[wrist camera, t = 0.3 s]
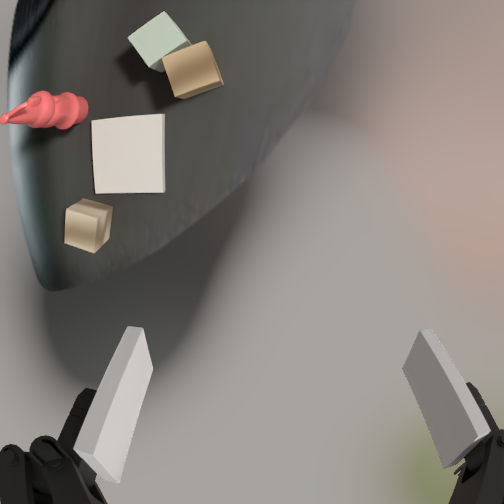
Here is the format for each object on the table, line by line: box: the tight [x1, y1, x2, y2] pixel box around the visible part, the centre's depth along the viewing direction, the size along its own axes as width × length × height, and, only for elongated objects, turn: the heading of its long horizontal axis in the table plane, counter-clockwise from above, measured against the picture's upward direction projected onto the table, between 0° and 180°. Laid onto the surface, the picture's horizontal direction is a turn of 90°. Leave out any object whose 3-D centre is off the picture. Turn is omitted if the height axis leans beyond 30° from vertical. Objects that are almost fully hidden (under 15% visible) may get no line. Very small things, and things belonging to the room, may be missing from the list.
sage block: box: [128, 11, 192, 73], centre depth 27 cm, size 5×5×5 cm
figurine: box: [0, 91, 88, 129], centre depth 25 cm, size 5×5×15 cm
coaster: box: [92, 114, 165, 194], centre depth 35 cm, size 10×10×1 cm
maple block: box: [65, 199, 113, 253], centre depth 37 cm, size 5×5×5 cm
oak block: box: [162, 41, 224, 99], centre depth 29 cm, size 5×5×5 cm
